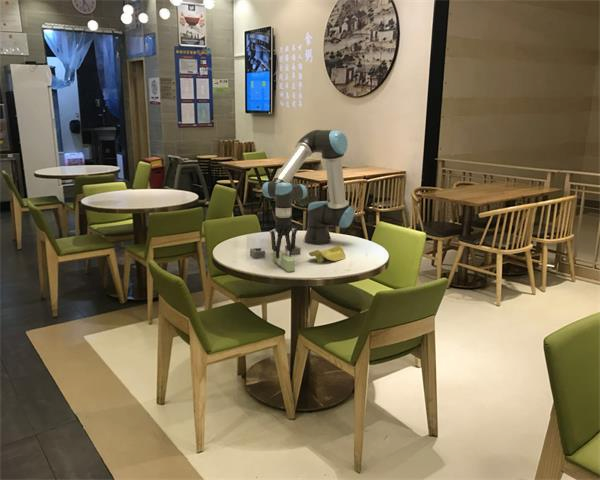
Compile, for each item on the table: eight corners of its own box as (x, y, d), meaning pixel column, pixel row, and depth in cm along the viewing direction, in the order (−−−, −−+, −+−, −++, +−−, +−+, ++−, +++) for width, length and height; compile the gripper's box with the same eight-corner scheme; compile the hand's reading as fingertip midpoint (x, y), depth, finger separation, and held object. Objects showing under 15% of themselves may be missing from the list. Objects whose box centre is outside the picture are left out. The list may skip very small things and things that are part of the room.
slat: (272, 260, 255) (272, 250, 254) (279, 259, 256) (279, 249, 255) (287, 271, 237) (287, 261, 236) (294, 270, 239) (294, 260, 237)
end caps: (294, 251, 275) (295, 244, 274) (300, 254, 269) (300, 248, 268) (250, 255, 265) (250, 248, 265) (254, 258, 259) (254, 252, 258)
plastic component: (327, 249, 270) (342, 244, 264) (331, 263, 270) (346, 258, 264) (304, 254, 255) (320, 248, 249) (309, 268, 254) (324, 263, 248)
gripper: (269, 218, 234) (269, 268, 240) (303, 216, 241) (302, 264, 247) (264, 215, 241) (264, 263, 247) (296, 213, 248) (296, 260, 253)
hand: (283, 264), depth 247 cm, fingers closed on slat, 3 cm apart
